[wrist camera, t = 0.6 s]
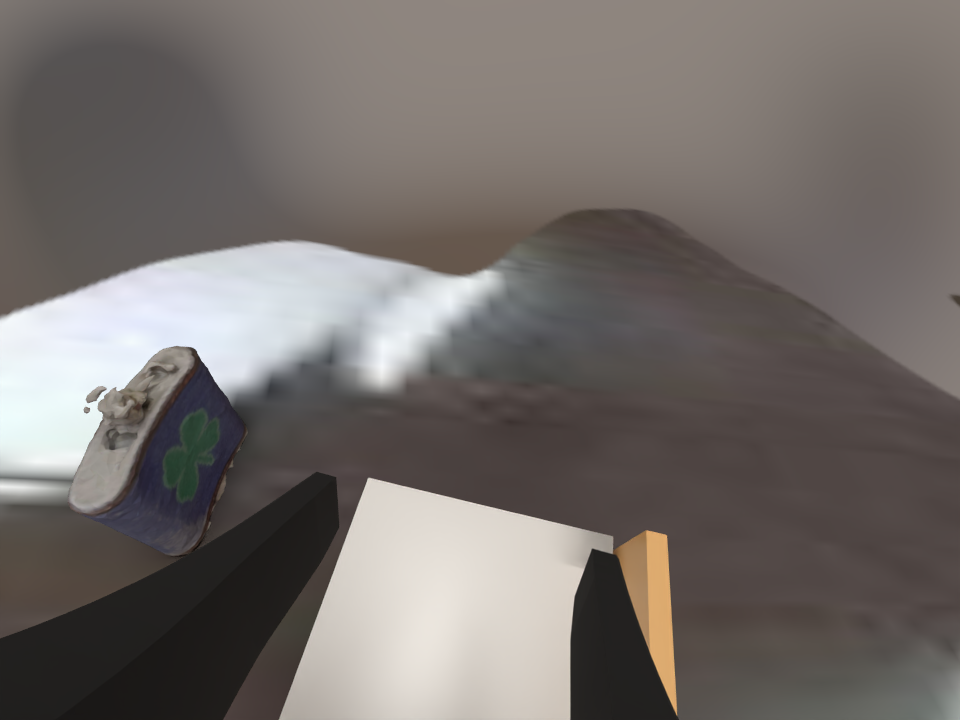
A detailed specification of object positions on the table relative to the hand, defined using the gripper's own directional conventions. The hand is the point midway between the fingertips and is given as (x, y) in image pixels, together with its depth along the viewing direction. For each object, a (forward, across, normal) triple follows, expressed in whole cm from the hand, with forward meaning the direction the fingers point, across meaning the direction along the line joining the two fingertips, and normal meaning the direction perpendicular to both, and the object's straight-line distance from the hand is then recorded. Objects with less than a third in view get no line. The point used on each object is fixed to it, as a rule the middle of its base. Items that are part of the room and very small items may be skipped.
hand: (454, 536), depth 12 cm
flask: (+9, +18, +13) cm, 24 cm away
